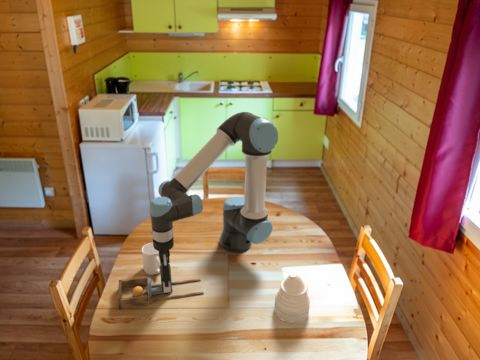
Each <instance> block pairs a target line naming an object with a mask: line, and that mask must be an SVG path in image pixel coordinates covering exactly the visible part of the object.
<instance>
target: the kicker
mask: <svg viewBox="0 0 480 360" xmlns="http://www.w3.org/2000/svg"><path fill="white" fill-rule="evenodd" d="M159 274H160V279H161V278H163V272H162V264H161V265H160V273H159ZM169 274H170V287H171V292H166V293H164V289H163V281H161V280H160V284H161V286H160V287H153V288H151V285H152V279H151V277H149V278H147V279H148V286H147V295H148V298H153V296H155V295H160V294H163V295H170V294H172V292H173V285H172V282H173V281H172V269H171V264H170V263H169Z"/></svg>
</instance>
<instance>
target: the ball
mask: <svg viewBox="0 0 480 360" xmlns="http://www.w3.org/2000/svg"><path fill="white" fill-rule="evenodd" d="M132 294H133V297H137V296H143V294H144V289H143V287H140V286H137V287H135V288H132Z"/></svg>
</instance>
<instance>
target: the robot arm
mask: <svg viewBox="0 0 480 360" xmlns="http://www.w3.org/2000/svg"><path fill="white" fill-rule="evenodd" d="M278 141H279V131H278V128H277V126H276V125H275V124H274V123H273V122H272V121H270V120H268V119H267V118H263V117H261V116H258V115H255V114H254V113H251V112H248V111H240V112H237V113H236V114H233V115H232V116H229V118H226V119H225V121H223V122H222V123H221V124H220V125H219V126H218V127H217V128H216V133H215V134H214V135H213V136H212V137H211V138H210V139H209V140H208V142H207V143H205V145H203V147H202V148H201V149H200V150H199V151H198V152H197V153H196V154H195V155H194V156H193V157H192V158H191V159H190V160H189V161H188V162H187V164H185V166H184V167H183V168H182V169H181V170H180V171H178V173H177V174H176V175H175V176H174V177H173V178H172V179H171V180H164V181H163V182H161V183H160V184H159V187H158V189H157V190H158V194H159V196H158V197H157V196H156V197H153V199H151V200H150V202H149V216H150V223H151V230H150V231H149V232H150V234H152V243H153V247H154V249H155V250H157V251H159V257H160V263H161V264H162V272H163V278H161V277H160V282H161V281H163V289H164V293H166V292H171V287H170V274H169V264H170V261H171V260H170V256H171V254H170V250H172V249H173V248H174V245H175V244H174V242H175V241H174V240H175V239H174V225H173V223H174V222H177V221H180V220H184V219H187V218H190V217H194V216H196V215H199V214H201V213H202V212H203V208H204V204H203V199H202V198H201V197H200V195H199V194H191V195H188V194H187V193H188V191H189V190H190V189H191V188H192V187H193V186H194V185H195V183H196V182H198V180H199V179H200V178H201V177H202V176H203V175H204V174H205V173H206V172H207V171H208V169H210V168H211V167H212V166H213V165H214V163H216V162H217V160H219V158H221V156H222V155H223V154H224V153H225V152H226V151H227V150H228V149H229V147H233V146H235V145H236V144H237V143H238V142H241V152H242V154H243V155H245V160H244V161H245V168H244V197H242V196H233V197H229V198H227V199H225V201H224V202H223V206H222V218H223V220H222V221H223V222H222V223H223V224H222V226H223V227H222V231H221V233H220V237H219V246H220V248H221V249H223V250H224V251H226V252H229V253H241V252H245V251H247V250H249V249H250V248H251V246H252V244H253V245H258V244H261V243H263V242H265V241H266V240H267V239H268V238H269V237H270V236H271V234H272V231H273V229H274V228H273V224H272V222H271V221H270V220H269V217H268V216H269V210H268V209H267V207H265V205H266V187H267V170H268V169H267V168H268V167H267V165H268V156H270V155H271V153H272V150H274V149H275V146H276V145H277V144H278ZM171 293H172V292H171Z"/></svg>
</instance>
